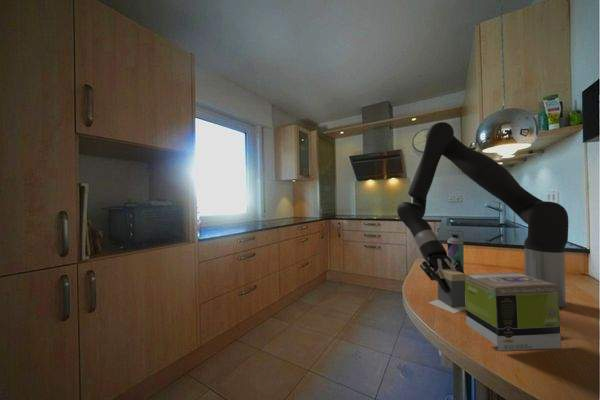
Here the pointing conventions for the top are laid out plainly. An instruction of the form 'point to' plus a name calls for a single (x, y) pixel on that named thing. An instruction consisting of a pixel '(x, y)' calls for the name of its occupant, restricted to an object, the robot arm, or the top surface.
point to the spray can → (456, 249)
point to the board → (447, 306)
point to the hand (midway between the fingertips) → (455, 291)
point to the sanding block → (453, 288)
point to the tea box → (513, 310)
